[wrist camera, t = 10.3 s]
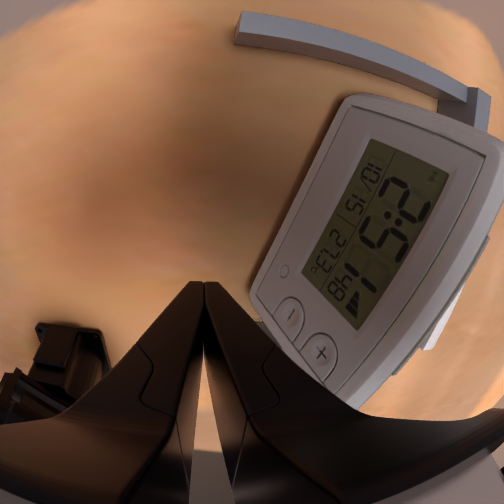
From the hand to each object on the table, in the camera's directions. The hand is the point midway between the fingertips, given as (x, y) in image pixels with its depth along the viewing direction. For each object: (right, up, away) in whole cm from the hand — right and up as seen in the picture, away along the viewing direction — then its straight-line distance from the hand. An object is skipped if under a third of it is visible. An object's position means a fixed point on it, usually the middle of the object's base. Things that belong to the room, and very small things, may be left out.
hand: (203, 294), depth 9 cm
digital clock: (+6, +4, +11) cm, 13 cm away
